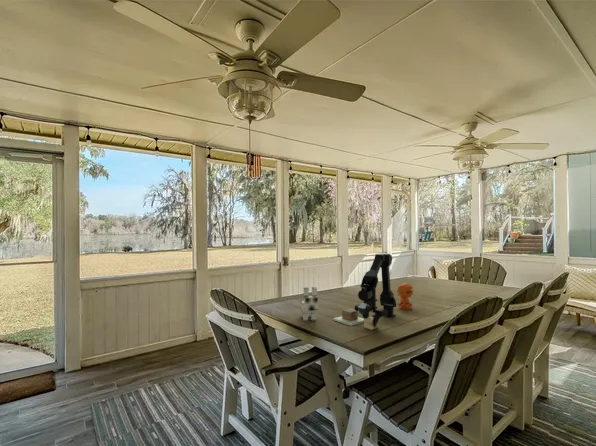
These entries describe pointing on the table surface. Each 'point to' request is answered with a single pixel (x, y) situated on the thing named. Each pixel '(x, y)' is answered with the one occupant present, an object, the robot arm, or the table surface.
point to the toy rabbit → (309, 304)
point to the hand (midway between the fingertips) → (370, 325)
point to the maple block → (369, 323)
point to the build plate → (353, 322)
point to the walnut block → (349, 314)
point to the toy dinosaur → (405, 296)
